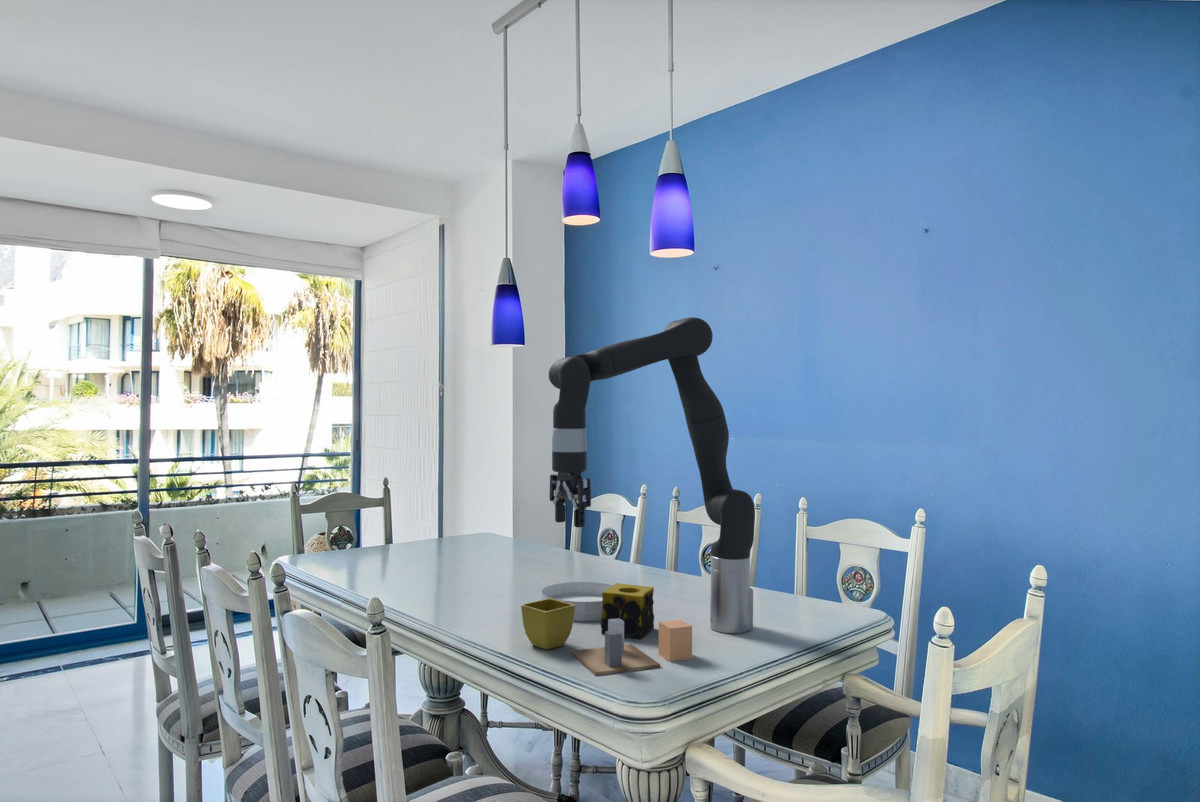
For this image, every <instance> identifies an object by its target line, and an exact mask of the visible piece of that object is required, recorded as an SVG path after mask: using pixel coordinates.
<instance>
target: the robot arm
mask: <svg viewBox="0 0 1200 802" xmlns="http://www.w3.org/2000/svg"><path fill="white" fill-rule="evenodd" d="M713 335H714V334H713V330H712V328H711V326H710V325H709V323H707V321H705V320H704V319H701V318H699V317H691V316H690V317H685V318H681V319H677V320H673V321H671V322H669V323H667V325H666V326H665V327H664V329H663V331H662V332H658V333H654V334H652V335H648V336H647V335H646V336H642V337H637V338H634V339H633V338H632V339H629V340H623V341H620V342H617V343H613V344H609V345H605V346H603V347H599V348H596V349H594V350H592V351H588V352H585V353H578V354H575V355H571V356H566V357H563V358H560V359H557V360H555V362H553V363H552V364H551V366H550V368H549V370H548V379H549V382H550V383H551V385H553V387H555V388H556V389H558V390H559V395H558V400H557V402H556V403H555V405H554V406H553V410H552V412H553V413H552V418H553V419H552V422H553V423H552V425H553V426H552V428H553V429H552V438H551V470H552V471H553V472H555V473H556V474H555V473H554V474H550V476H549V501H550V502H552V503H553V505H554V510H555V511H554V512H555V513H554V514H555V515H554V521H555V523H565V522H566V502H567V500H569V501H570V502H571V503H572V506H573V526H574V527H575V528H584V527H585V524H586V523H585V522H586V520H585V519H586V518H585V511H586V509H587V508H589V507H591V506H592V499H591V498H592V497H591V496H592V495H591V494H592V493H591V480H590V478H589V477H587V478H583V477H582V476H583V475H582V473H583V472H586V471H587V470H588V462H587V461H588V459H587V457H588V453H587V451H588V449H587V448H588V447H587V446H588V445H587V444H588V442H587V441H588V440H587V431H586V427H587V426H586V424H587V423H586V406H587V402H588V397H589V391H590V386H591V382H593V381H601V380H606V379H607V380H608V379H611V378H614V377H618V376H621V375H623V374H626V373H629V372H630V373H631V372H632V371H635V370H638V369H640V368H641V369H642V368H644V367H646V366H649V365H652V364H655V363H658V362H659V363H660V362H663V361H666V360H668V364H669V366H670V368H671V372H672V373H673V377H674V380H675V383H676V387H677V391H678V394H679V398H680V399H679V400H680V402H681V406H682V410H683V413H684V417H685V418H684V419H685V422H686V425H687V431H688V434H689V438H690V440H691V443H692V447H693V451H694V456H695V461H696V463H697V467H698V471H699V476H700V480H701V490H702V495H703V501H704V507H705V511H706V514H707V516H708V517H709V520H711V522H712V523H714V524H716V525H718V526H720V527H719V528H720V530H719V538H718V539H717V540H716V541H714V542H713V543H711V544H710V545H711V546H710V611H709V614H710V619H709V622H710V625H709V627H710V629H711V630H713V631H716V632H720V633H725V634H741V633H742V634H743V633H746V632H748V631H751V630H753V629H754V589H753V588H751V577H750V576H751V550H752V548H753V545H754V542H755V541H754V540H755V525H756V523H755V522H756V509H755V508H756V507H755V503H754V500H753V498H752V497H751V495H750V494H749V493H748V492H746V491H743V490H740V489H735V488H733V486H732V484H731V481H730V477H729V476H730V475H729V473H728V469H727V455H728V447H729V441H730V436H729V435H730V434H729V428H728V423H727V418H726V415H725V411H724V408H723V405H722V403H721V401H720V400H719V398H718V396H717V395H716V394H715V391H714V390H713V388H711V386H710V385H709V383H708V382H707V379H705V377H704V375H703V371H702V370H701V366H700V361H699V358H698V357H699V356H701V355H703V354H705V352H707V351H708V349H710V347H711V346H712V343H713Z"/></svg>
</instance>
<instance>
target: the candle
mask: <svg viewBox="0 0 1200 802" xmlns="http://www.w3.org/2000/svg"><path fill="white" fill-rule="evenodd" d="M612 585H613V586H611V587H610V588H608V589H607V590H605V591H604V592H602V598H603V600H602V603H603V605H602V618H601V620H600V621H601V622H600V628H601V631H600V633H601V634H602V635H604V636H605V631H608V619H616V618H620V619H621V620H623V621H624V639H625V638H626V639H635V640H642V639H643V638H645V636H646V635H647V634H648V633H650V631H652V630H653V629H654V628H655V624H654V622H655V614H654V603H655V601H654V592H655V591H654V590H655V587H653V586H647V585H640V584H639V585H638V584H637V585H636V584H628V583H619V582H616V583H614V584H612Z"/></svg>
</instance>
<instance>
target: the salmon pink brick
mask: <svg viewBox="0 0 1200 802" xmlns="http://www.w3.org/2000/svg"><path fill="white" fill-rule="evenodd" d="M657 650H658V655H659V656H661V657H662V658H664V659H665V660H666V661H668V662H670V663H671V662H677V661H679V662H680V661H685V660H692V659H693V625H691V624H689V623H688V622H685V621H684V620H682V619H676V620H675V619H674V620H665V621H664V620H662V621H658V649H657Z"/></svg>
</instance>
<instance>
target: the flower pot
mask: <svg viewBox="0 0 1200 802" xmlns="http://www.w3.org/2000/svg"><path fill="white" fill-rule="evenodd" d="M520 609H521V615H522V616H521V617H522V623H523V628H524V629H523V630H524V633H525V635H526V636H527V638H528V640H529V642H530V644H531V645H532V646H534V647H538V648H541V649H543V650H551V649H554V648H557V647H562V646H564V645H565V644H566V642H567V640H568V638H569V637H570V634H571V633H572V629H573V625H574V621H573V618H574V610H575V605H574V604H570V603H566V602H562V601H558V600H555V599H550V598H549V599H544V600H541V599H540V600H537V601H531V602H528V603H527V602H526V603H523V604H520Z"/></svg>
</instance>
